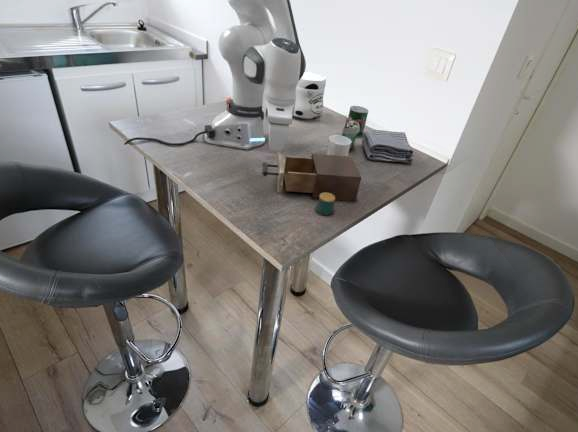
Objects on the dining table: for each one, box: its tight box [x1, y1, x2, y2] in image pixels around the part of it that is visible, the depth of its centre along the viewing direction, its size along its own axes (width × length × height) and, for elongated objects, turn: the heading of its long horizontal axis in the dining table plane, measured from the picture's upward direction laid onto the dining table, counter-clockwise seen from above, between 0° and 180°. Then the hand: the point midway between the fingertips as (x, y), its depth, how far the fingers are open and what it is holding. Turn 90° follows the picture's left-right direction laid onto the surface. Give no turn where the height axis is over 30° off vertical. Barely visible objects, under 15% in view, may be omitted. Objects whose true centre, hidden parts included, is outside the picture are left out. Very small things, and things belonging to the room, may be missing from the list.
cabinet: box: [310, 153, 362, 202], centre depth 110 cm, size 13×13×8 cm
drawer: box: [262, 153, 317, 194], centre depth 108 cm, size 17×12×7 cm
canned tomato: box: [347, 105, 369, 138], centre depth 150 cm, size 8×8×11 cm
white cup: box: [326, 134, 351, 157], centre depth 123 cm, size 8×8×10 cm
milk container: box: [292, 70, 327, 121], centre depth 158 cm, size 17×17×18 cm
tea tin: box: [316, 192, 336, 216], centre depth 100 cm, size 4×4×5 cm
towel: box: [361, 129, 414, 164], centre depth 137 cm, size 15×18×8 cm
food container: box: [341, 117, 360, 152], centre depth 137 cm, size 12×6×10 cm, turn 168°
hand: (273, 151), depth 103 cm, fingers closed
